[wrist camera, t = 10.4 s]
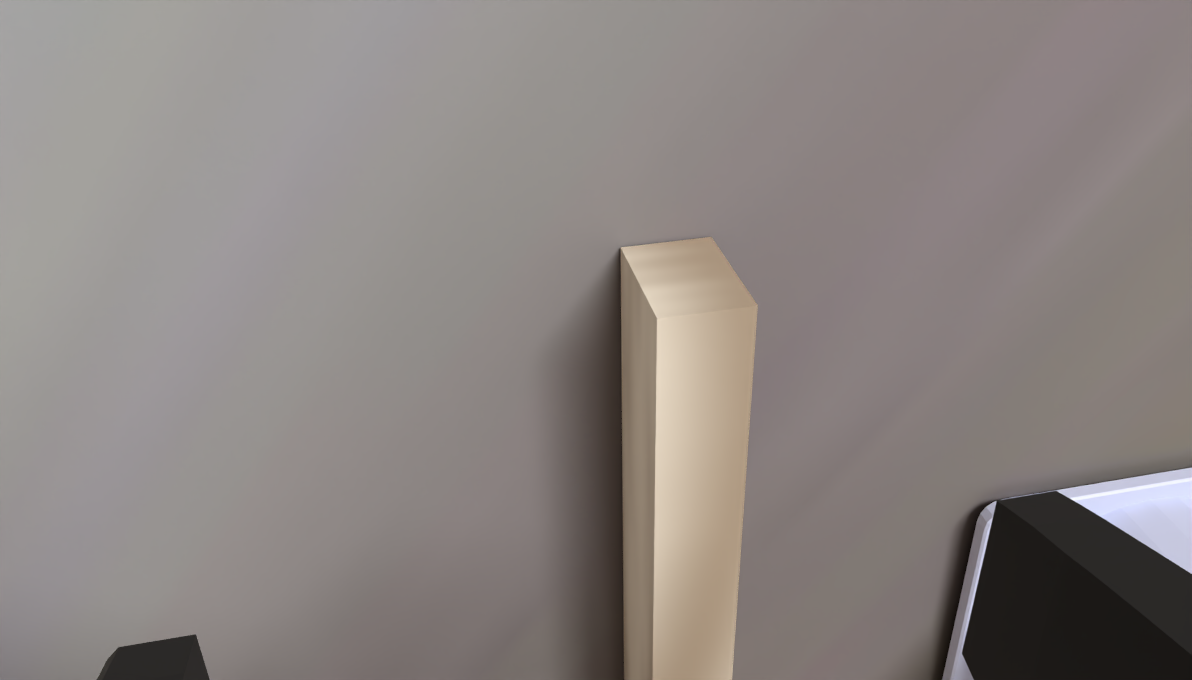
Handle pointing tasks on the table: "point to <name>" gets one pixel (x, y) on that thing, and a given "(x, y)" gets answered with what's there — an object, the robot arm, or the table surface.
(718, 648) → the gauge bed
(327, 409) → the table surface
